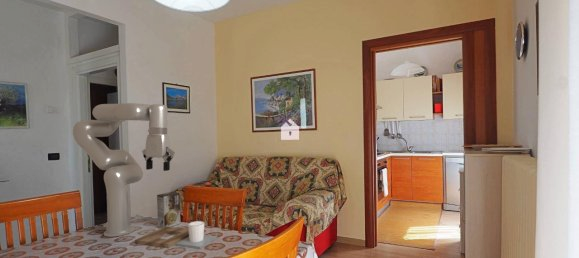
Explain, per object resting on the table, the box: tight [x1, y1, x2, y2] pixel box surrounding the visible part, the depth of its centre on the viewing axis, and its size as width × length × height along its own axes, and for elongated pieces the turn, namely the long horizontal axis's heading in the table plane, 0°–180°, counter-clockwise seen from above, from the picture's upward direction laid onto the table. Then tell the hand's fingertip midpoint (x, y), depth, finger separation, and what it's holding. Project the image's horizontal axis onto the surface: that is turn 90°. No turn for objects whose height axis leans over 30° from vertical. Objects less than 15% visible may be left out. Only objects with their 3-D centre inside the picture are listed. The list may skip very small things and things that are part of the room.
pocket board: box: [134, 226, 189, 249], centre depth 129 cm, size 18×18×2 cm
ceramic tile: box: [175, 234, 218, 249], centre depth 124 cm, size 12×12×1 cm
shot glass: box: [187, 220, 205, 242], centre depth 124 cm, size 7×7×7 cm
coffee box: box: [156, 191, 181, 229], centre depth 147 cm, size 9×6×16 cm
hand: (157, 169), depth 131 cm, fingers open, 9 cm apart
